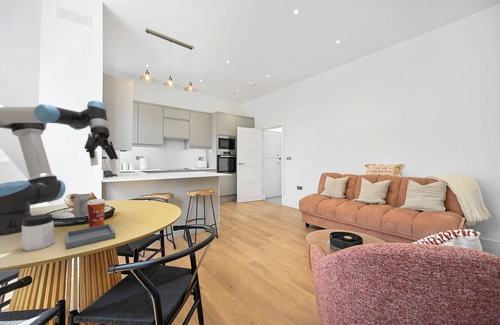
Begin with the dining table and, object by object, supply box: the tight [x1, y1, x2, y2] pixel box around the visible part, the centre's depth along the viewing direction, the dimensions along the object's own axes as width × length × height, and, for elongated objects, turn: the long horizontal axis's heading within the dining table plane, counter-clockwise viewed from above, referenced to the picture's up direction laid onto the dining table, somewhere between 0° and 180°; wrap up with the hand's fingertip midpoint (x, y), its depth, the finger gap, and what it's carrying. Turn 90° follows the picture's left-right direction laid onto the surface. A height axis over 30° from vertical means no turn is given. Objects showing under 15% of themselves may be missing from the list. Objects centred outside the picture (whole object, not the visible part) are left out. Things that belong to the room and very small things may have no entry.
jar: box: [21, 213, 55, 252], centre depth 78 cm, size 9×8×12 cm
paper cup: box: [87, 198, 107, 228], centre depth 99 cm, size 8×8×14 cm
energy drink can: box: [73, 193, 89, 218], centre depth 107 cm, size 6×6×15 cm
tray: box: [65, 223, 116, 250], centre depth 86 cm, size 16×15×2 cm
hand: (105, 168), depth 94 cm, fingers open, 13 cm apart
